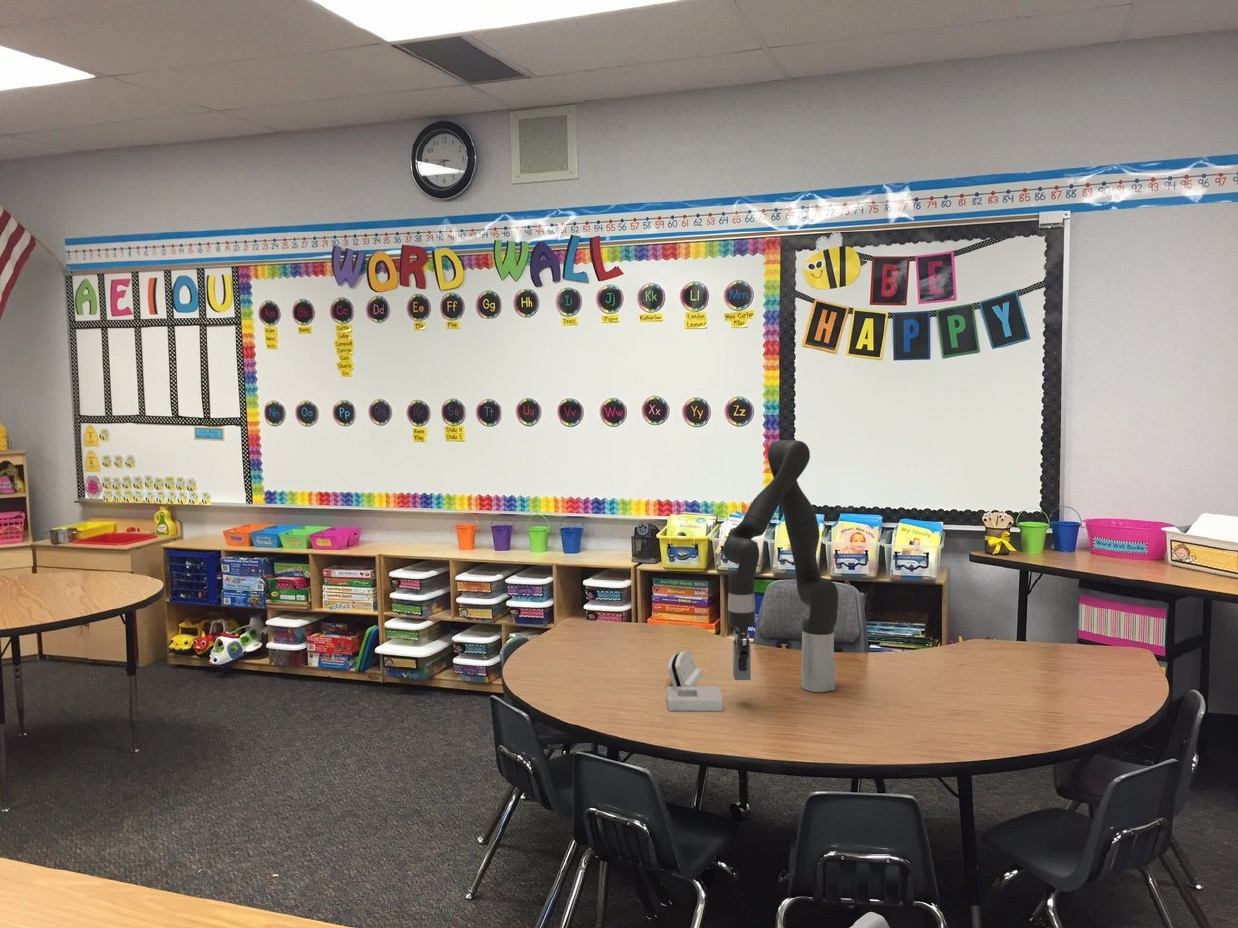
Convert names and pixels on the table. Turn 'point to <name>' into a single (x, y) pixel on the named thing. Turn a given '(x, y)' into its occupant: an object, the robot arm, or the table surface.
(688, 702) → the square hole plate
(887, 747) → the table surface
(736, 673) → the square peg
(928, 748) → the table surface
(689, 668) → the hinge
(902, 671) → the table surface
